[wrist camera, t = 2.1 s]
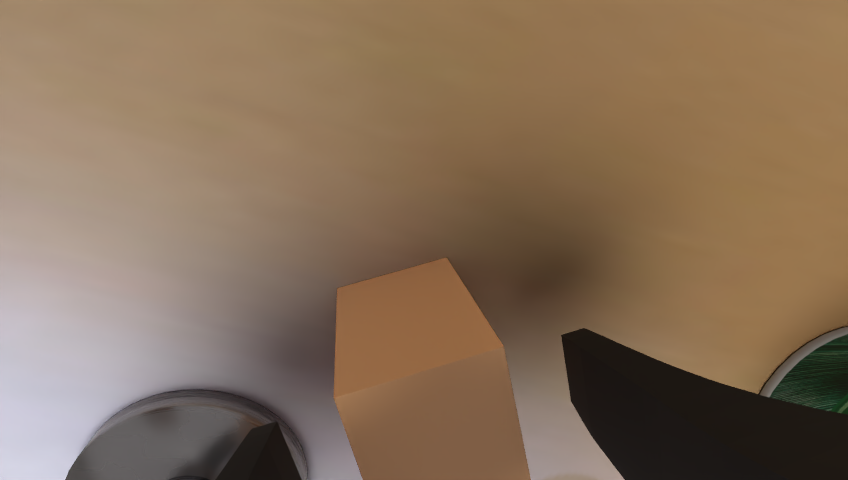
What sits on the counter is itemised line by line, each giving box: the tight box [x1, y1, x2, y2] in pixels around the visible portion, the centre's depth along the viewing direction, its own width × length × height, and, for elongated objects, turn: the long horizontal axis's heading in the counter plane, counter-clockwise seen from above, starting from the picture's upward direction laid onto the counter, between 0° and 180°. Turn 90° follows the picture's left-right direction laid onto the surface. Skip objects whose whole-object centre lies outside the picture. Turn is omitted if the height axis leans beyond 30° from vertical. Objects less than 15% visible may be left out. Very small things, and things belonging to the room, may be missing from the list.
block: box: [334, 257, 531, 480], centre depth 12 cm, size 4×4×6 cm
